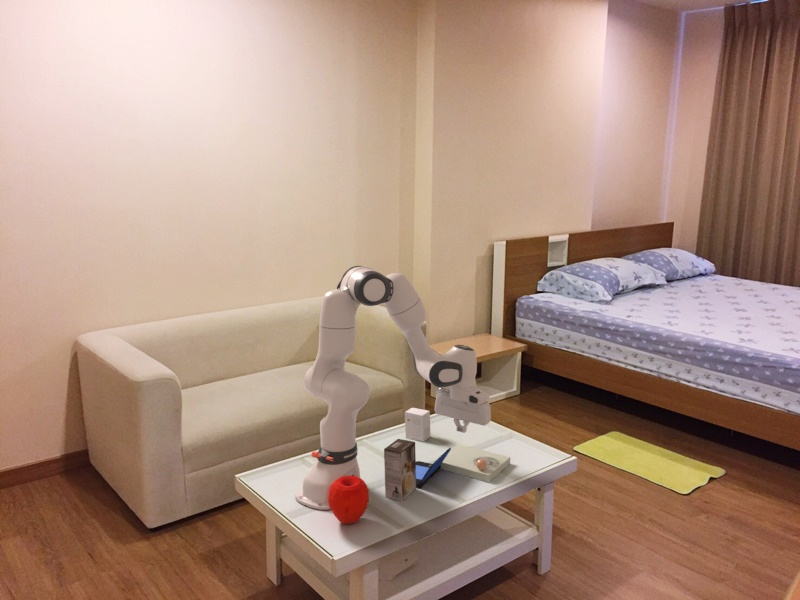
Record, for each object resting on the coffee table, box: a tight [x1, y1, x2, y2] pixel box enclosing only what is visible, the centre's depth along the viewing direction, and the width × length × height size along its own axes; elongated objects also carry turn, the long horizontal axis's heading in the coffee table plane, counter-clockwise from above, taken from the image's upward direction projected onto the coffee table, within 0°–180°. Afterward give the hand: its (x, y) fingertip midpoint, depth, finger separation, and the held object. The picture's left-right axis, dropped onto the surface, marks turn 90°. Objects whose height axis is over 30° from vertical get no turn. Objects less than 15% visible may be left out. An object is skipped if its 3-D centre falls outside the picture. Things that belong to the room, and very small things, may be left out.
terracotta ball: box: [476, 459, 487, 470], centre depth 210 cm, size 4×4×4 cm
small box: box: [404, 407, 431, 443], centre depth 242 cm, size 8×6×10 cm
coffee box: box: [383, 438, 417, 502], centre depth 199 cm, size 9×6×16 cm
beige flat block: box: [440, 443, 511, 483], centre depth 218 cm, size 16×20×2 cm
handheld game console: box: [416, 447, 452, 489], centre depth 210 cm, size 16×13×9 cm
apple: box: [328, 476, 370, 525], centre depth 183 cm, size 12×12×13 cm
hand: (461, 431), depth 218 cm, fingers closed
